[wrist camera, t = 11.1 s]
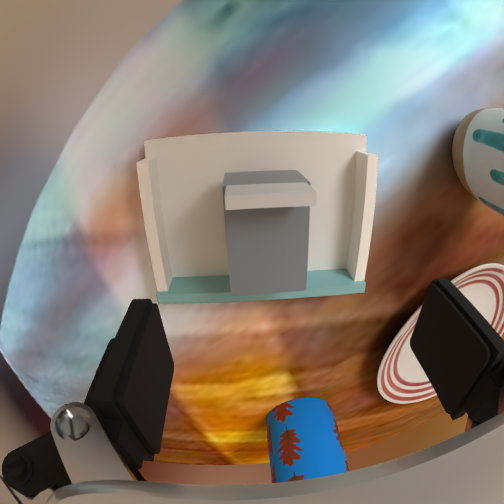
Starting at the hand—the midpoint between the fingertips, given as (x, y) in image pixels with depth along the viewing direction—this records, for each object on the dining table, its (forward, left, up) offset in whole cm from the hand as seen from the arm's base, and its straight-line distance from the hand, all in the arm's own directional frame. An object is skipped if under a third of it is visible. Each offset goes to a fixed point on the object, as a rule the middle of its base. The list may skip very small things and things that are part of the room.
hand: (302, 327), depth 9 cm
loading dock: (+2, 0, -19) cm, 19 cm away
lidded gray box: (+2, 0, -17) cm, 17 cm away
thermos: (+36, +6, -19) cm, 41 cm away
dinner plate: (+22, +29, -19) cm, 41 cm away
